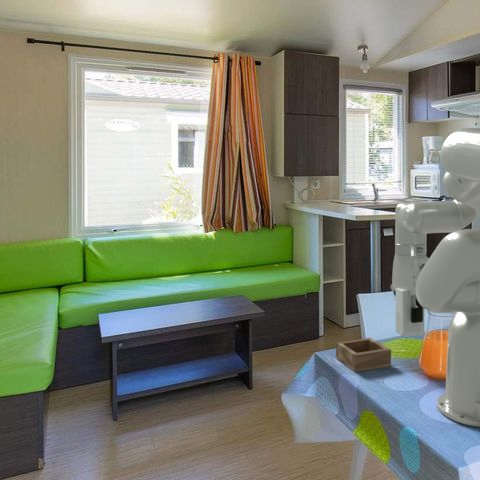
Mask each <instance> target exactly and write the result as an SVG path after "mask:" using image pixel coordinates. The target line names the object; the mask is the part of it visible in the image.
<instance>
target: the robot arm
mask: <svg viewBox="0 0 480 480" xmlns="http://www.w3.org/2000/svg"><path fill="white" fill-rule="evenodd" d="M439 160H440V164H441V166H442V167H441V168H443V170H444V171H446V172H445V174H444V176H443V179H442V184H443V188H444V190H445V192H446V193H447V194H448V196H449V197H450V198H452V200H450V201H446V200H445V201H442V200H441V201H439V200H438V201H421V202H419V201H418V202H400V203H398V204H397V205H396V207H395V221H394V222H395V223H394V225H395V228H394V229H395V230H394V234H395V235H394V236H395V237H394V242H395V243H394V246H395V247H394V257H393V262H392V274H391V275H392V276H391V282H392V283H391V284H390V290H391V291H392V293H393V296H394V297H395V300H394V301H396V288H399V289H403V290H406V291H407V292H408V294H409V295H411V297H412V303H413V307H411V322H412V323H418V322H422V321H423V308H424V310H426V311H428V312H430V313H432V314H433V313H435V314H449V313H451V314H452V313H453V315H452V317H451V319H450V322H449V326H448V331H447V348H446V349H447V351H446V352H447V353H446V370H445V372H446V374H445V392H444V393H443V394H441V395H440V396H438V397H437V399H436V407H437V409H438V410H439V412H440V413H441V414H442V415H444V416H445V417H447V418H449V419H450V420H452V421H454V422H457V423H460V424H463V425H467V426H471V427H479V428H480V228H466V227H467V226H469V225H470V224H471V223H473V222H474V221H475V220H476V219H477V218H478V217H479V215H480V127H463V128H459V129H457V130H455V131H453V132H452V133H450V134H449V135H448V136H447V137H446V139H445V140H444V141H443V144H442V145H441V149H440V152H439ZM440 233H443V234H444V233H448V234H447V235H446V236H444V237H443V238H442V239H441V241H440V242H439V243H438V245H437V246H436V247H435V249H434V250H433V252H432V253H431V255H430V257H428V256H427V251H428V249H427V235H428V234H440ZM417 300H418V301H417Z"/></svg>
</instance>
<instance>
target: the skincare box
mask: <svg viewBox="0 0 480 480" xmlns="http://www.w3.org/2000/svg"><path fill="white" fill-rule="evenodd" d="M395 299H396V300H395V332H396V333H397V334H399V335H400V336H401V337H410V336H413V337H414V336H423V335H425V309H424V308H423V321H422V322H418V323H412V322H411V307H413V303H412V297H411V295H409V294H408V292H407V291H406V290H403V289H399V288H396V297H395ZM417 301H418V300H417Z"/></svg>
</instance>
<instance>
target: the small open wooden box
mask: <svg viewBox="0 0 480 480" xmlns="http://www.w3.org/2000/svg"><path fill="white" fill-rule="evenodd" d="M336 358H337V359H336ZM335 359H336V360H338V361H339V362H340V363H342V364H343V365H345V366H346V367H347V368H348V369H350V370H351V371H353V372H354V373H358V372H364V371H369V370H370V371H371V370H375V369H381V368H388V367H392V362H391V361H392V348H389V347H387V346H385V345H383V344H382V343H381V342H378V341H377V340H375V339H373V338H371V337H366V338H360V339H353V340H346V341H340V342H338V341H337V342H336V343H335Z"/></svg>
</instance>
